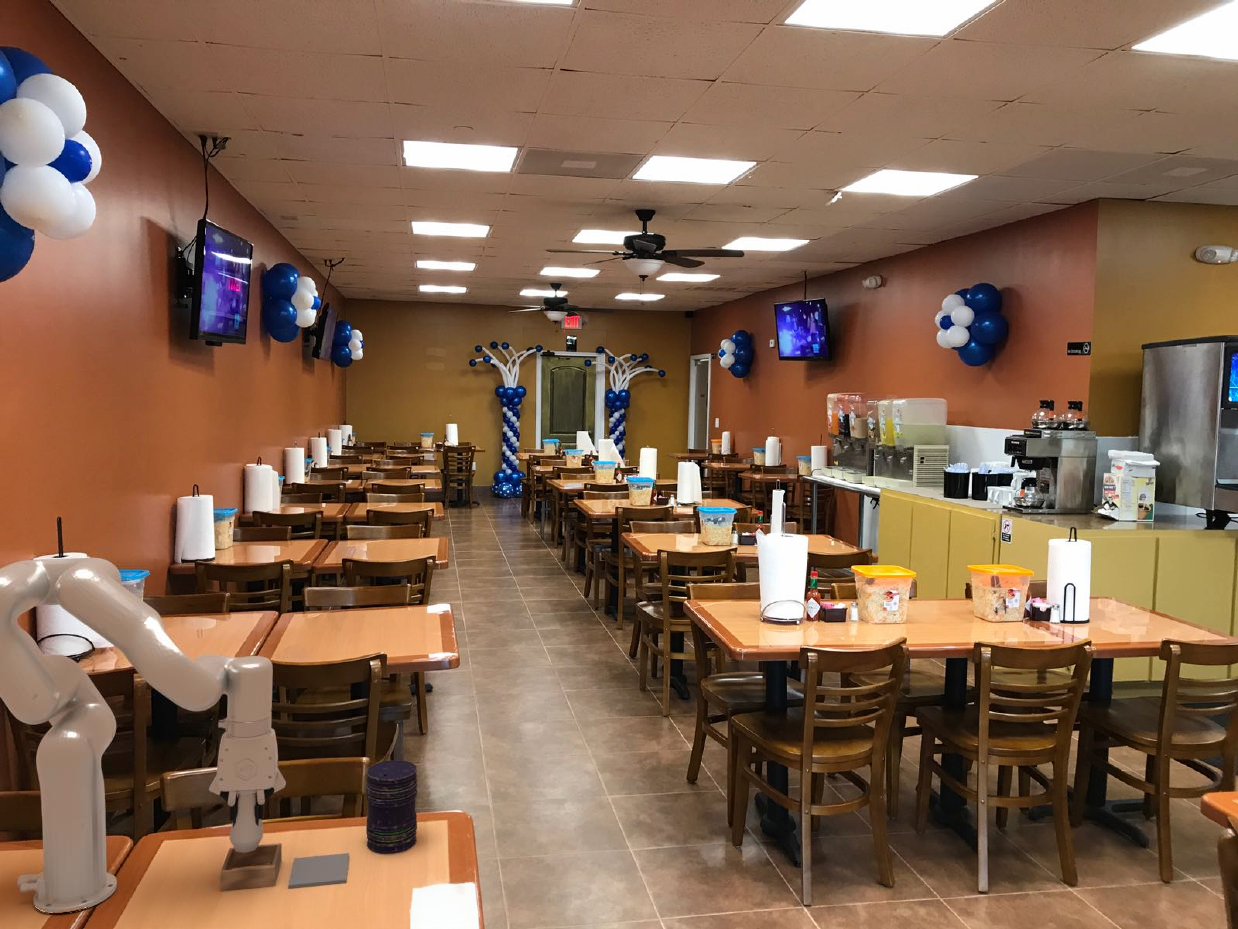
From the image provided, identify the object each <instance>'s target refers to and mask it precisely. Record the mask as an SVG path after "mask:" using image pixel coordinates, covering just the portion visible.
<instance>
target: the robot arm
mask: <svg viewBox="0 0 1238 929" xmlns="http://www.w3.org/2000/svg"><path fill="white" fill-rule="evenodd" d="M42 606H60V607H61V608H62V609H63V610H64V611H66V612H67V613H68V614H69V615H71V616H72V617H74V618H76V619H77V620H78V621H79V622H81V623H82V624H83V625H85V626H87V627H88V628H89V629H90V630H92V631H94V633H96V634H97V635H99V636H100V637H102V638H104V639H105V640H106V641H107V642H109V643H110V644H111V645H113V646H114V647H115V648H117V649H118V650H119V651H120V652H121V653H122V654H123V656H124V657H125V658H126V660H127V661H128V662H129V664H130V665H131V666H132V667H133V668H134V669H135V671H136V672H137V673H138V674H139V675H140V676H141V678H143V680H144V681H146V682H147V684H148V685H150V687H152V688H153V689H155V690H156V691H158V692H159V693H160V694H161V695H163V696H164V697H165V698H167V699H168V700H170V701H171V702H173V703H174V704H175V705H177V706H179V707H180V708H182V709H185V710H188V711H192V712H202V711H206V710H208V709H210V708H212V707H214V706H215V705H216V704H217V703H218V702H219V700H220V699H221V697H222V695H226V696H227V713H226V714H227V717H225V718H223V719H219V720H218V728H222V729H224V730H225V732H223V734H222V736H221V739H220V744H219V747H218V748H219V749H218V755H217V756H218V757H217V764H216V765H217V767H216V769H217V770H216V776H215V777H214V779H213V780H212V782H211V783H210V785H209V787H208V791H209V792H210V793H214V795H218V796H220V797H221V798H222V799H223V800H224V801H226V802H227V805H228V806H229V822H231V821H232V824H233V827H234V825H235V823H236V817H237V813H238V805H237V802H238V795H239V794H237V791H254V790H257V801H256V805H255V812H254V815H255V822H256V825H257V826H258V825H259V819H262V820H263V819H264V818H265V803H266V801H267V800H268V799H269V798H270V797H272V795H273V794H274V793H277V792H278V791H280V790H282V789H285V787H286V784H287V782H286V780H285V778H284V776H283V774H282V773H281V771H280V769H279V754H278V753H279V752H278V742H277V736H276V731H275V729H274V728H272V713H273V712H272V711H273V706H272V705H273V704H272V703H273V702H272V701H273V667H274V666H273V662H272V661H271V660H270V659H269V658H268V657H264V656H260V655H247V656H242V657H236V656H229V655H228V656H227V655H222V654H203V655H200V656H198V657H196V658H195V659H192V658H190V657H189V656H188V655H187V654H185V653H184V652H183V651H182V650H181V649H180V648H179V647H178V646H177V645H176V644H175V643H174V641H173V640H172V639H171V637H170V636H169V634H168V633H167V630H166V627H165V625H164V622H163V619H162V617H161V615H160V613H159V612H158V611H157V610H156V609H154V608H153V607H152V606H151V605H149V604H147V603H146V602H145V601H144V600H142V599H141V598H139V597H138V596H137V595H135V594H134V593H132V592H131V591H129V590H128V589H127V588H126V587H124V586H123V585H122V575H121V573H120V571H119V569H118V567H117V566H116V565H115V564H114V563H113V562H111V561H109V560H107V559H104V558H99V557H78V558H77V557H75V558H73V557H72V558H71V557H70V558H47V559H45V558H44V559H26V560H19V561H16V562H12V563H10V564H8V565H5V566H3V567H1V568H0V698H1V700H2V701H3V702H4V704H5V706H6V707H7V708H8V710H9V711H10V713H11V714H12V715H13V716H14V717H15V718H16V719H17V720H18V721H20V722H22V723H24V724H26V725H39V724H43V723H46V722H49V723H50V724H51V726H52V727H51V728H50V729H49V730H48V731H47V732H46V733H45V734H44V736H43V737H42V739H41V740H40V743H39V745H38V748H37V751H36V757H35V759H36V760H35V762H36V771H37V775H38V781H39V782H38V783H39V787H40V801H41V817H42V818H41V820H42V822H41V823H42V852H43V853H42V854H43V855H42V857H43V859H42V860H43V871H40V872H39V873H36V874H30V873H29V874H22V875H18V876H19V877H18V879H17V887H18V888H19V892H20V893H28V892H35V895H34V896H33V906H34V905H35V906H36V907H37V908H39V909H40V910H43V911H45V912H50V913H51V912H61V911H70V910H76V909H79V908H81V907H88V908H87V909H89V908H92V907H93V906H96V905H98V904H100V903H102V902H104V901H105V900H107V899H109V897H111V896H112V895H113V894H114V892H115V891H116V890H117V887H118V886H117V884H118V879H117V876H115V875H114V874H112V873H110V872H107V832H106V831H107V830H106V826H107V825H106V799H105V798H106V797H105V796H106V794H105V790H106V789H105V780H104V774H103V771H102V758H103V757H102V756H103V755H104V753H105V751H106V750H107V749H108V747H109V746H110V744H111V743H112V741H113V739H114V737H115V735H116V732H117V731H116V730H117V721H116V717H115V716H114V713H113V711H112V709H111V707H110V705H108V703H107V701H106V700H105V699H104V697H103V696H102V694H101V692H100V691H99V690H98V689H97V687H96V686H95V684H94V682H93V681H92V679H91V678H90V677H89V675H88V674H87V672H86V670H84V669H83V667H82V666H81V665H80V663H78V662H77V661H75V660H73V659H72V658H70V657H68V656H65V655H61V654H50V655H49V654H48V655H45V654H44V652H42V650H41V649H40V648H39V645H37V642H36V641H35V640H34V638H33V637H32V636H31V635H30V634H29V633H28V632H27V631H26V630H25V629H23V628H22V627H21V625H20V624H19V622H18V620H19V619H18V618H20V616H21V615H23V614H24V613H27V612H28V611H30V610H31V609H32V608H34V607H42Z"/></svg>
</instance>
